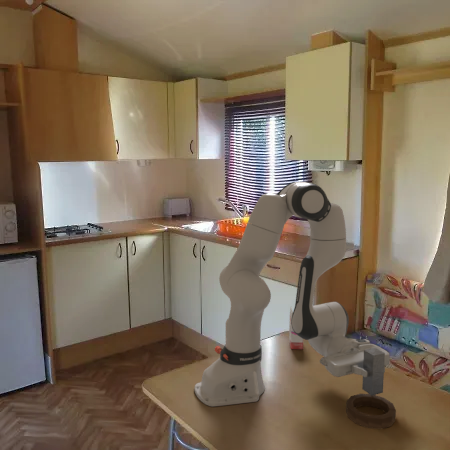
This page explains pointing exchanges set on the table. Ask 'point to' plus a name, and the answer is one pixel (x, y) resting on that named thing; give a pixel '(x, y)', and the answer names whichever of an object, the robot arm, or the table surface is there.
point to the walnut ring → (370, 420)
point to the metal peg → (373, 371)
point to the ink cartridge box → (294, 336)
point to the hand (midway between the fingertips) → (375, 372)
